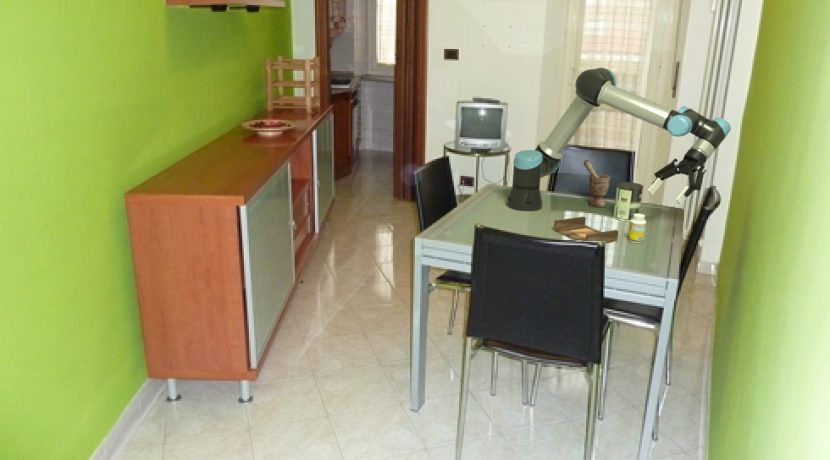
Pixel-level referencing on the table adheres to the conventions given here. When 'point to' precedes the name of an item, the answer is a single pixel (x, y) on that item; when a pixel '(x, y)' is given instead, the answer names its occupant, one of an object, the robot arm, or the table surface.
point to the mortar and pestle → (597, 186)
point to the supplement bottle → (637, 228)
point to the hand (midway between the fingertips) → (663, 197)
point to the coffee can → (627, 200)
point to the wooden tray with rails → (583, 230)
